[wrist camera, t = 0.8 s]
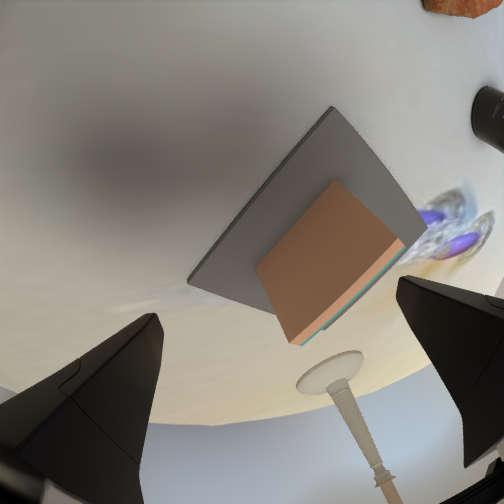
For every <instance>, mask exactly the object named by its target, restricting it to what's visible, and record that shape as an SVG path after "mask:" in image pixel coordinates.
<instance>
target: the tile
mask: <svg viewBox="0 0 504 504" xmlns="http://www.w3.org/2000/svg"><path fill="white" fill-rule="evenodd" d="M405 248H406V246H405V245H404V244H403V243H402V242H401V241H400V240H399V238H398V237H397V236H396V235H395V234H394V233H393V232H392V231H391V230H390V229H389V228H388V227H387V226H385V225H384V224H383V223H382V222H381V221H380V220H379V219H378V218H377V217H376V216H375V215H374V214H373V213H372V212H371V211H370V210H369V209H368V208H366V207H365V206H364V205H363V204H362V203H361V202H360V201H359V200H358V199H357V198H355V197H354V196H353V195H352V194H351V193H350V192H349V191H348V190H346V189H345V188H344V187H343V186H342V185H341V184H340V183H338V182H337V181H336V180H335V179H334V180H333V181H332V182H331V184H330V185H329V186H328V187H327V188H326V189H325V190H324V191H323V193H322V194H321V195H320V196H319V197H318V198H317V199H316V200H315V202H314V203H313V204H312V205H311V206H310V207H309V208H308V209H307V211H306V212H305V213H304V214H303V215H302V216H301V217H300V218H299V220H298V221H297V222H296V223H295V224H294V225H293V226H292V227H291V228H290V230H289V231H288V232H287V233H286V234H285V235H284V236H283V237H282V239H281V240H280V241H279V242H278V243H277V244H276V245H275V246H274V247H273V249H272V250H271V251H270V252H269V253H268V254H267V255H266V256H265V257H264V258H263V260H262V261H261V262H260V263H259V264H258V265H257V266H256V267H255V270H256V272H257V274H258V276H259V278H260V281H261V283H262V285H263V287H264V289H265V292H266V294H267V296H268V298H269V300H270V303H271V305H272V307H273V309H274V311H275V314H276V316H277V318H278V320H279V322H280V324H281V327H282V329H283V331H284V333H285V335H286V338H287V340H288V342H289V343H291V344H295V345H300V346H303V345H304V344H305V343H307V342H308V341H309V340H310V339H311V338H312V337H314V336H315V335H316V334H317V333H318V332H319V331H321V330H322V329H323V328H324V327H325V326H326V325H327V324H328V323H330V322H331V321H332V320H333V319H334V318H335V317H336V316H337V315H338V314H340V313H341V312H342V311H343V310H344V309H345V308H346V307H347V306H348V305H349V304H350V303H351V302H352V301H354V300H355V299H356V298H357V297H358V296H359V295H360V294H361V293H362V292H363V291H364V290H365V289H366V288H367V287H368V286H369V285H370V284H371V283H372V282H373V281H374V280H375V279H376V278H377V277H378V276H379V275H380V274H381V273H382V272H383V271H384V270H385V269H386V268H387V267H388V266H389V265H390V264H391V263H392V262H393V261H394V260H395V259H396V258H397V257H398V256H399V255H400V253H401V252H402V251H403V250H404V249H405Z"/></svg>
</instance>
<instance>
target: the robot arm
mask: <svg viewBox="0 0 504 504" xmlns="http://www.w3.org/2000/svg"><path fill="white" fill-rule="evenodd" d="M396 300H397V303H398V305H399V306H400V308H401V310H402V312H403V314H404V316H405V318H406V320H407V323H408V324H409V326H410V328H411V330H412V331H413V333H414V335H415V336H416V338H417V339H418V341H419V343H420V344H421V346H422V347H423V349H424V351H425V352H426V354H427V355H428V357H429V359H430V360H431V362H432V363H433V365H434V367H435V369H436V370H437V372H438V374H439V376H440V377H441V379H442V381H443V382H444V384H445V386H446V388H447V390H448V391H449V393H450V395H451V397H452V399H453V400H454V402H455V404H456V406H457V408H458V409H459V412H460V414H461V417H462V422H463V442H464V443H463V444H464V468H467V467H469V466H471V465H472V464H474V463H476V462H477V461H479V460H481V459H482V458H484V457H485V456H487V455H488V454H490V453H491V452H493V451H495V450H496V449H497V451H498V453H499V455H500V457H498V458H497V459H496V460H494V461H493V462H492V463H491V464H489V467H488V469H487V472H486V475H485V478H483V479H482V480H480V481H479V482H477V483H475V484H474V485H472V486H470V487H469V488H467V489H465V490H464V491H462V492H460V493H459V494H457V495H455V496H453V497H451V498H449V499H447V500H445V501H443V502H441V503H440V504H504V299H500V298H497V297H493V296H489V295H485V296H484V294H480V293H476V292H472V291H469V290H465V289H461V288H457V287H453V286H449V285H445V284H442V283H438V282H434V281H430V280H426V279H422V278H418V277H414V276H410V275H407V276H402V277H400V278H399V281H398V286H397V291H396ZM163 340H164V331H163V328H162V326H161V323H160V321H159V318H158V316H157V314H156V313H147V314H144V315H143V316H141V317H140V318H138V319H137V320H135V321H134V322H132V323H131V324H129V325H128V326H126V327H125V328H123V329H122V330H120V331H119V332H117V333H116V334H114V335H113V336H111V337H110V338H108V339H107V340H105V341H104V342H102V343H101V344H99V345H98V346H96V347H95V348H93V349H92V350H90V351H89V352H87V353H86V354H84V355H83V356H81V357H80V358H78V359H76V360H75V361H73V362H72V363H70V364H68V365H67V366H65V367H64V368H62V369H61V370H59V371H57V372H56V373H54V374H52V375H51V376H49V377H47V378H45V379H44V380H42V381H40V382H38V383H37V384H35V385H33V386H31V387H30V388H28V389H26V390H24V391H23V392H21V393H19V394H18V395H16V396H14V397H12V398H10V399H9V400H7V401H5V402H4V403H2V404H0V504H144V501H143V496H142V492H141V486H140V480H139V469H140V463H141V457H142V451H143V446H144V441H145V436H146V431H147V426H148V421H149V416H150V412H151V407H152V402H153V398H154V393H155V389H156V385H157V380H158V376H159V372H160V367H161V359H162V349H163Z"/></svg>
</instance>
